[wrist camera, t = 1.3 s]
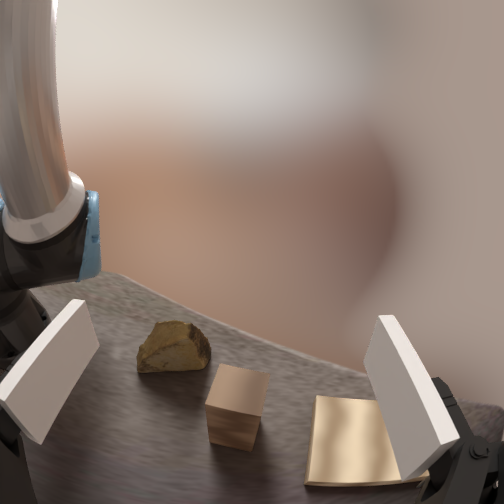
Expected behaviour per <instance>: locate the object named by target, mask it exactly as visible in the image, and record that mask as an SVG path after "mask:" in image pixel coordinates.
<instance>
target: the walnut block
mask: <svg viewBox="0 0 504 504" xmlns="http://www.w3.org/2000/svg"><path fill="white" fill-rule="evenodd" d="M269 377H270V374H269V373H264V372H258V371H253V370H248V369H243V368H239V367H234V366H230V365H225V364H221V363H220V365H219V368H218V370H217V373H216V376H215V378H214V381H213V384H212V387H211V389H210V392H209V395H208V397H207V400H206V403H205V408H206V417H207V426H208V434H209V442H211V443H215V444H219V445H223V446H227V447H231V448H236V449H241V450H246V451H251V452H252V450H253V446H254V442H255V438H256V435H257V431H258V427H259V423H260V419H261V415H262V410H263V406H264V401H265V396H266V392H267V387H268V382H269Z"/></svg>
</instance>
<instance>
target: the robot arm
mask: <svg viewBox="0 0 504 504" xmlns="http://www.w3.org/2000/svg"><path fill="white" fill-rule="evenodd" d="M57 4H58V0H0V193H1V195H2V198H3V200H4V202H5V204H4V202H3V200H2V199H1V198H0V368H2V369H5V370H6V371H4V373H3V374H2V375H1V376H0V504H38V503H37V500H36V497H35V494H34V490H33V487H32V483H31V479H30V475H29V471H28V467H27V462H26V457H25V452H24V447H23V441H22V438H21V435H20V434H19V433H20V431H21V430H22V432H23V433H24V434H25V435H26V436H27V437H28V438H29V439H31V440H33V441H34V442H36V443H38V444H40V445H41V444H42V442H43V441H44V439H45V437H46V435H47V433H48V431H49V429H50V427H51V426H52V424H53V422H54V420H55V418H56V417H57V415H58V413H59V411H60V410H61V408H62V406H63V404H64V403H65V401H66V399H67V397H68V396H69V394H70V392H71V391H72V389H73V387H74V386H75V384H76V382H77V381H78V379H79V378H80V376H81V374H82V373H83V371H84V370H85V368H86V366H87V365H88V363H89V362H90V360H91V358H92V357H93V355H94V354H95V352H96V351H97V349H98V348H99V346H100V345H99V342H98V339H97V336H96V334H95V331H94V328H93V325H92V322H91V318H90V315H89V312H88V309H87V305H86V302H85V301H84V300H77V299H73V300H72V301H71V302H70V303H69V304H68V305H67V306H66V307H65V308H64V309H63V310H62V311H61V312H60V313H59V314H58V316H57V317H56V318H55V319H54V320H53V321H52V322H51V320H50V317H49V315H48V313H47V311H46V309H45V308H44V307H43V306H42V304H41V303H40V302H39V301H38V300H37V299H36V297H35V296H34V295H33V294H32V293H31V291H30V290H29V289H30V288H36V287H42V286H48V285H54V284H61V283H68V282H80V281H81V280H84V279H88V278H93V277H95V276H97V275H98V274H99V272H100V271H101V250H100V231H99V195H98V193H97V192H95V191H90V190H87V191H86V192H85V188H84V185H83V183H82V181H81V179H80V178H79V177H78V176H77V175H76V174H74V173H72V172H70V171H68V167H67V163H66V157H65V152H64V146H63V140H62V134H61V126H60V119H59V111H58V100H57V88H56V68H55V35H56V33H55V32H56V15H57ZM363 363H364V365H365V368H366V371H367V374H368V376H369V379H370V382H371V385H372V388H373V390H374V393H375V396H376V399H377V402H378V405H379V408H380V411H381V414H382V417H383V420H384V423H385V426H386V429H387V432H388V436H389V439H390V442H391V445H392V449H393V452H394V455H395V459H396V462H397V466H398V469H399V473H400V477H401V480H402V482H403V481H406V480H410V479H413V478H416V477H419V476H421V475H422V474H423V473H424V472H425V471H426V470H427V469H428V472H429V476H428V477H426V478H425V479H424V480H423V481H421V482H420V483H419V484H418V486H417V487H416V488H420V487H421V486H422V485H423V484H424V485H423V487H422V489H421V491H420V493H419V495H418V497H417V499H416V501H415V503H414V504H504V441H502V442H492V443H488V441H487V440H486V439H484V438H483V437H481V436H474V435H473V433H472V431H471V429H470V427H469V425H468V423H467V421H466V419H465V417H464V415H463V413H462V411H461V409H460V407H459V406H458V405H457V402H456V400H455V398H454V397H453V394H452V393H451V391H450V389H449V387H448V385H447V384H446V383H444V382H443V381H442V380H441V379H440V378H439V377H436V378H430V377H429V375H428V373H427V371H426V369H425V367H424V366H423V364H422V362H421V360H420V358H419V357H418V355H417V353H416V351H415V350H414V348H413V346H412V345H411V343H410V341H409V340H408V338H407V336H406V335H405V333H404V331H403V330H402V328H401V327H400V325H399V323H398V322H397V320H396V318H395V317H394V315H382V316H378V318H377V322H376V325H375V328H374V332H373V334H372V337H371V341H370V344H369V347H368V350H367V352H366V355H365V358H364V361H363ZM497 481H498V487H497V486H496V482H497Z"/></svg>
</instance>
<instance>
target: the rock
mask: <svg viewBox="0 0 504 504" xmlns="http://www.w3.org/2000/svg"><path fill="white" fill-rule="evenodd" d="M210 355H211V347H210V343H209V342H208V338H206V337H205V336H204V334H203V333H202V332H201V330H200V329H198V328H197V327H196V326H194V325H193V324H192V323H187V324H186V323H184V322H182V321H177V320H172V321H164V322H157V323H156V324H155V327H154V329H153V331H152V332H151V334H150V335H149V336H148V338H147V339H146V341H145V343H144V344H141V346H140V347H139V352H138V355H137V371H138V373H148V372H164V371H186V370H192V369H194V370H199V369H203V368H205V366H206V365H207V363H208V361H209V359H210Z"/></svg>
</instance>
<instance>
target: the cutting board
mask: <svg viewBox="0 0 504 504" xmlns="http://www.w3.org/2000/svg"><path fill="white" fill-rule="evenodd" d="M428 476H429V472H428V469H427V470H426V471H425V472H424V473H423V474H422V475H421V476H419V477H416V478H413V479H410V480H406V481H403V482H402V480H401V477H400V473H399V469H398V466H397V462H396V459H395V455H394V452H393V449H392V445H391V442H390V439H389V436H388V432H387V429H386V426H385V423H384V420H383V417H382V414H381V411H380V408H379V405H378V402H377V400H359V399H346V398H335V397H325V396H316V398H315V400H314V402H313V410H312V421H311V431H310V441H309V450H308V458H307V466H306V473H305V480H304V485H313V486H376V485H389V484H399V483H407V482H414V481H421V480H424V479H425V478H426V477H428Z"/></svg>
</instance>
